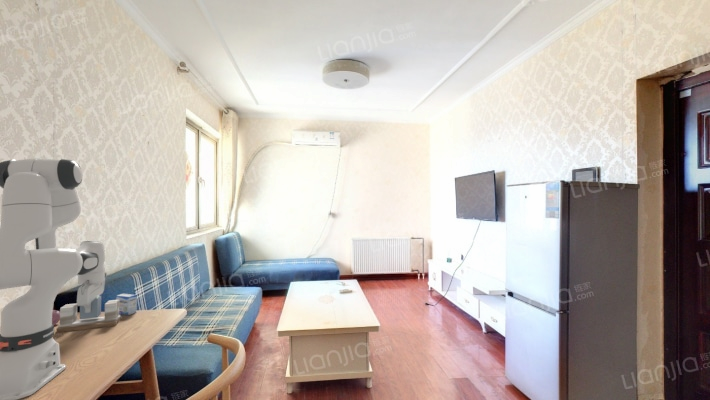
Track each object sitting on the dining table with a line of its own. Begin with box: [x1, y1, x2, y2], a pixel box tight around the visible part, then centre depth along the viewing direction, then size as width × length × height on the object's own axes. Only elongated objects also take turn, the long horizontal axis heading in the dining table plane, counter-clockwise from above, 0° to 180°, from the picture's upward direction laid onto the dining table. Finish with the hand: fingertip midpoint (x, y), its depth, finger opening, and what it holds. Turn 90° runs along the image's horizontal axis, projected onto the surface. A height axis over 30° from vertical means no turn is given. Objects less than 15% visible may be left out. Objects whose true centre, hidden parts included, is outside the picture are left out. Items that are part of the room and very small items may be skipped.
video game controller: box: [52, 309, 60, 326], centre depth 136 cm, size 10×5×7 cm, turn 85°
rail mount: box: [55, 299, 122, 333], centre depth 136 cm, size 8×20×9 cm, turn 114°
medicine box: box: [115, 293, 138, 316], centre depth 151 cm, size 8×4×9 cm, turn 77°
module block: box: [79, 295, 102, 319], centre depth 135 cm, size 4×6×9 cm
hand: (90, 309), depth 136 cm, fingers closed on module block, 4 cm apart
